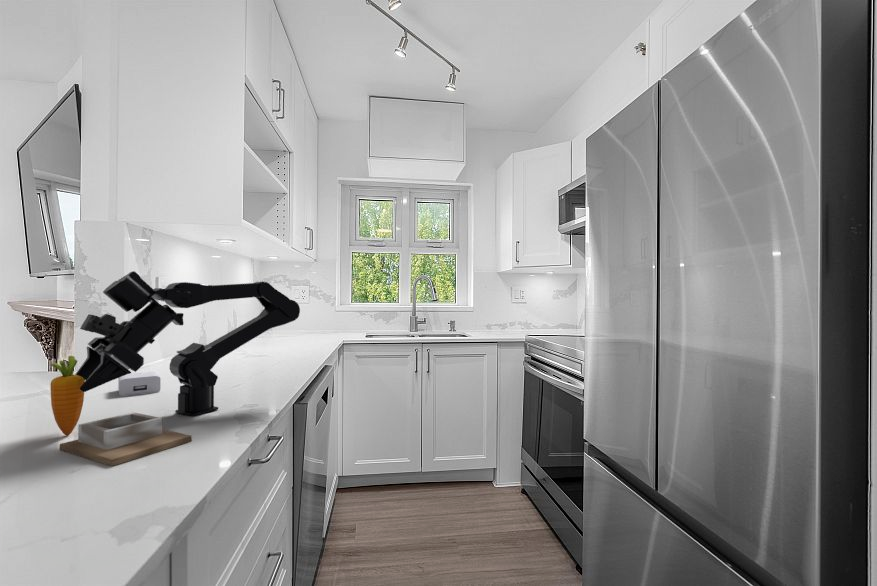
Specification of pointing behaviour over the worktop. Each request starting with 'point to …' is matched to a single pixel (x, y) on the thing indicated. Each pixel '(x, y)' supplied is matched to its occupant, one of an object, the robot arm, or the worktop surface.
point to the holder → (123, 438)
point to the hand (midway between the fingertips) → (76, 387)
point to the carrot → (67, 396)
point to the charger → (139, 383)
